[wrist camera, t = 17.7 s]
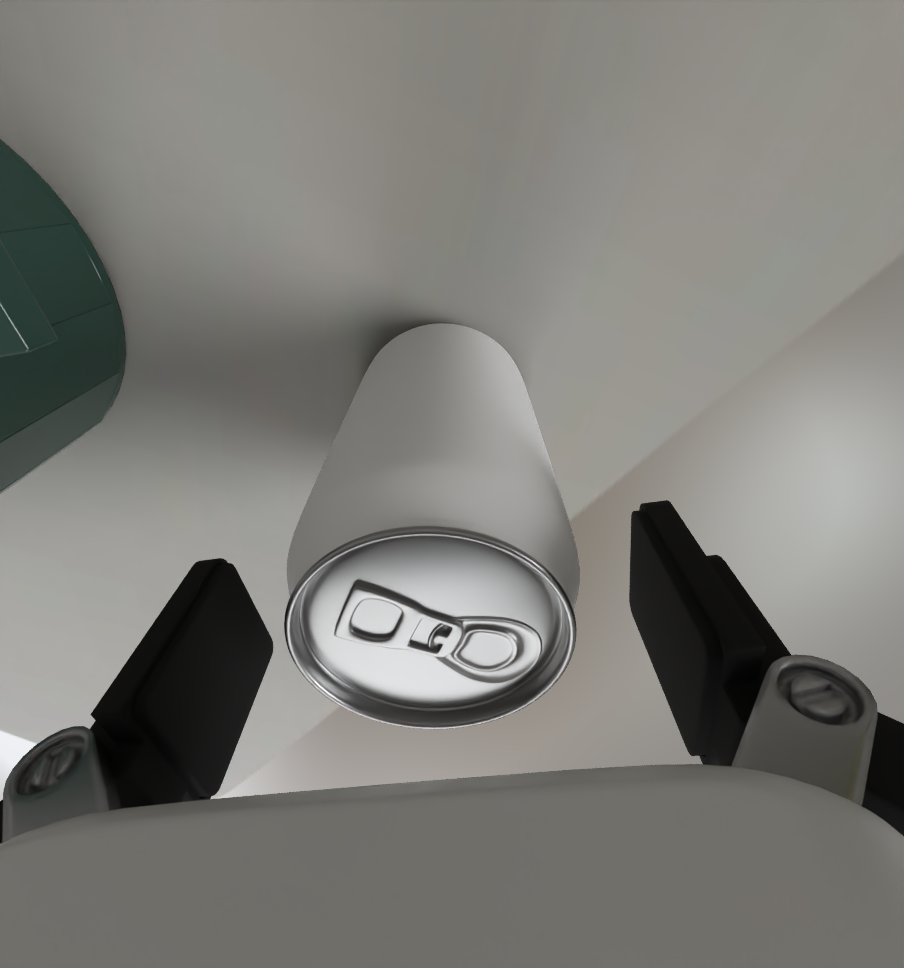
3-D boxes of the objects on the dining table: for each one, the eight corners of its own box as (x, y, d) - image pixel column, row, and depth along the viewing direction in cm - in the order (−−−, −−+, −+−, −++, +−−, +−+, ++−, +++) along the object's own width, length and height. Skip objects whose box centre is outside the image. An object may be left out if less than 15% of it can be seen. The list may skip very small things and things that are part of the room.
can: (484, 491, 22) (508, 765, 12) (342, 441, 21) (233, 700, 11) (554, 359, 19) (671, 579, 9) (393, 290, 18) (305, 452, 7)
